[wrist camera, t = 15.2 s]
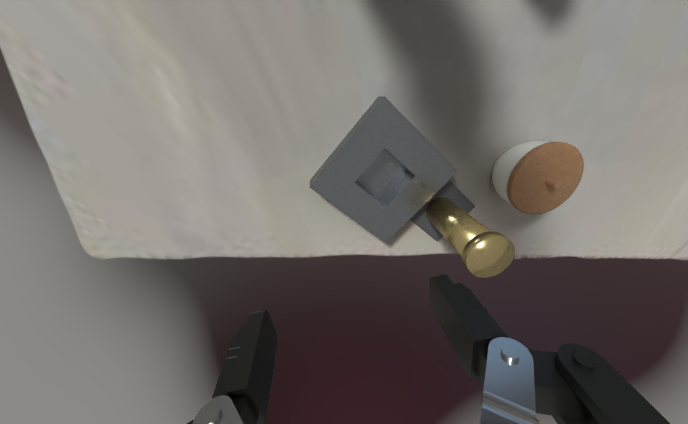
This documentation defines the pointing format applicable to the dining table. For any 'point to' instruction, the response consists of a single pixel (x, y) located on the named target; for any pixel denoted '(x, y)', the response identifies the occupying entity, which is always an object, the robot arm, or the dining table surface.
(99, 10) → the dining table surface
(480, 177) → the dining table surface
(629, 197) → the dining table surface
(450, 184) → the rubber mat
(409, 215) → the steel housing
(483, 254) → the brass plug
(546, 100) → the dining table surface
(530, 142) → the lidded jar
